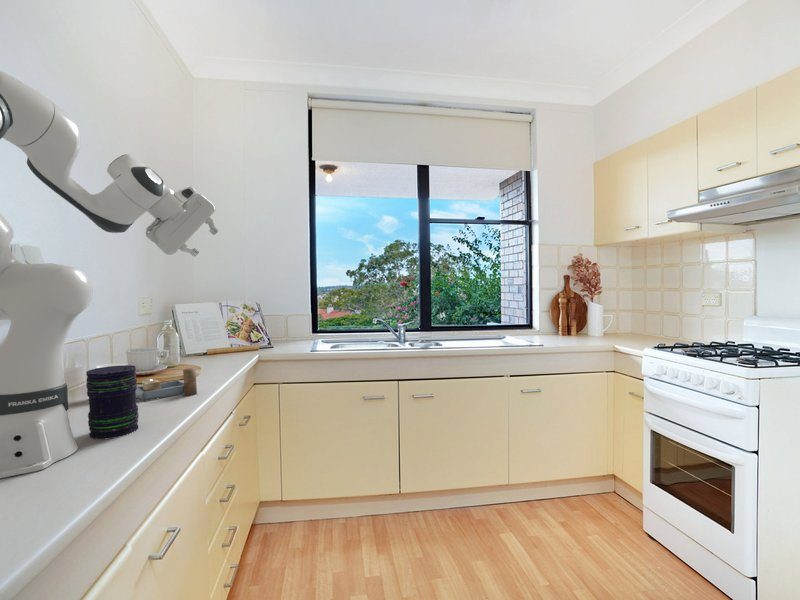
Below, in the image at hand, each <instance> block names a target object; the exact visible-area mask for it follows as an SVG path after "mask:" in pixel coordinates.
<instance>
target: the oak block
mask: <svg viewBox="0 0 800 600" xmlns="http://www.w3.org/2000/svg"><path fill="white" fill-rule="evenodd" d="M161 383H162V382H161V381H160V380H158V379H153V381H146V382H143V384H142V386H143V391H144V392H147V391H153V390H159V389H161Z"/></svg>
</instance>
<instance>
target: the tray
mask: <svg viewBox="0 0 800 600" xmlns="http://www.w3.org/2000/svg"><path fill="white" fill-rule="evenodd" d="M179 395H184V380H183V381H182V380H181V379H176V380H171V381H165V382H164V381H163V382H161V389H159V390H153V391H147V392H144V391H143V385H139V386H137V389H136V399H137V398H138V399H139V400H140V401H142V402H147V401H146V400H148V401H152V400H151V399H153V400H157V398H159V399H163V397H164V398H169V397H175V396H179Z"/></svg>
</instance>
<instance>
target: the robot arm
mask: <svg viewBox="0 0 800 600" xmlns="http://www.w3.org/2000/svg"><path fill="white" fill-rule="evenodd" d="M2 138H3V139H4V140H5V141H7V142H9V143H11V144H12V145H14V146H15V147H17V148H19V149H20V150H21V151H22V152H23V153H24V154H25V156H26V157H27V159H26V164H27V167H28V168H29V170H30V171H31V172H32V173H33V175H35V176H36V178H37V179H39V180H40V181H41V182H42V183H43V184H44V185H45V186H47V188H49V189H50V190H52V191H53V192H54V193H56V194H57V195H58V196H59V197H61V198H62V199H63V200H65V201H66V202H68V203H69V204H70V205H72V206H73V207H74V208H76V209H77V210H78V211H80V212H81V213H82V214H83V215H85V216H86V217H87V218H88V219H89V220H90V221H92V222H93V223H94V224H95V225H96V226H98V228H100V229H102V230H103V231H104V232H106V233H111V234H113V233H115V234H117V233H118V234H119V233H121V234H122V233H125V232H126V231H128V229H129V228H130V227H131V226H132V225H133V224H134V223H135V222H136V221H137V220H138V219H139V218H141V217H142V215H144V214H145V213H146V212H148V214H149V215H151V216H152V217H153V218H155V220H153V221H152V223H151V224H150V225H149V226H147V227H146V228H145V229H146V231H145V236H146V238H147V239H149V240H150V241H151V243H152V242H153V243H154V244H155V245H156V246H157V247H158V248H159V249H160V250H161V251H162V253H164V254H165V255H168V256H172V255H174V254H176V253H177V252H178V251H181V252H184V253H186V254H187V253H188V254H190V255H191V256H192V257H197V256H198V254H199V253H200V252H199V250H197V248H195V247H194V248H192V249H191V248H189V247H188V245H186V242H188V241H189V240H190V238H192V236H193V235H194V234H195V233H196V232H197V231H198V230H199V229H200V228H201V227H202V226H203V225H204V223H205V225H208V226H209V227H208V228H209V233H211V235H212V236H214V235H216V234H217V233H219V229H218V228H217V227H216V226H215V223H214V220H213V219H212V218H211V216H212V215H213V214H214V213H215V212H216V206H215V205H214V204H213V202H211V201H210V200H209V199H208V198H207V197H205V196H204V195H203V194H202V193H198V192H197V191H196V189H195V188H194V187H193V186H188V187H185V188H183V189H180V190H178V191H174V190H173V189H172V188H170V186H167V185H166V184H165V183H164V180H163V179H162V177H161V176H159V175H158V174H157V173H156V172H155V171H154V170H153V169H152V168H151V167H149V166H147V165H146V164H144V163H143V162H142V161H141V160H140V159H138V158H137V157H136V156H134V155H133V154H131V153H126V154H122V155H121V156H118V157H117V158H115V159H114V160H113V161H112V162H111V163H110V164H109V165H108V167H107V169H106V173H108V175H109V176H110V177H111V179H113V181H112V182H111V183H110V184H108V185H107V186H106V187H105V188H104V189H102V190H101V191H100V192H98V193H94V194H93V193H92V194H91V193H90V192H89V191H87V190H86V189H85V188H84V187H83V186H81V185H80V184H79V183H77V182H76V181H75V180H74V179H73V178H72V177H70V175H71V171H72V168H73V165H74V163H75V161H76V159H77V157H78V155H79V154H80V149H81V133H80V129H79V126H78V125H77V123H76V121H75V120H74V118H72V117H71V116H70V115H69V114H68V113H67V112H66V111H65V110H64V109H62V108H61V107H60V106H58V105H57V104H55V102H53V101H51V100H50V99H49V98H47V97H46V96H45V95H43V94H41V93H40V92H38V91H37V90H35V89H34V88H33V87H31V86H29V85H28V84H25V83H24V82H23V81H21V80H19V79H17V78H16V77H14V76H12V75H10V74H8V73H6V72H3V71H2V70H0V140H2ZM13 239H14V229H13V227H12V226H11V224H10V223H9V222H8V221H7V219H6V218H5V217H4V216H3V214H1V213H0V320H2V321H3V320H8V321H10V325H9V329H8V331H7V335H6V337H5V338H4V339H3V341H2V342H1V343H0V479H5V478H8V477H13V476H17V475H23V474H28V473H33V472H37V471H42V470H44V469H46V468H48V467H49V466H50V465H52V464H54V463H56V462H58V461H60V460H63V459H65V458H68V457H69V456H71V455H73V454H74V453H75V452H76V451H78V448H79V446H78V444H77V442H76V439H75V436H74V434H73V431H72V428H71V423H70V419H69V413H68V410H69V406H70V395H69V394H70V393H69V388H68V384H67V383H66V382H65V345H66V340H67V337H68V334H69V331H70V328H71V327H72V324H73V323H74V321H75V320H76V318H77V317H79V315H80V314H81V313H82V312H84V311H85V310H86V309H87V308H88V307H89V306H90V303H91V301H92V299H93V292H94V291H93V285H92V282H91V280H90V278H89V277H88V275H87V274H86V273H85V272H84V271H83V270H81V269H80V268H77V267H73V266H70V265H63V264H58V263H51V262H50V263H22V262H20V261H18V259H16V258H15V257H14V255H13V253H12V251H11V249H10V247H9V246H10V244H11V242H12V240H13Z"/></svg>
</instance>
